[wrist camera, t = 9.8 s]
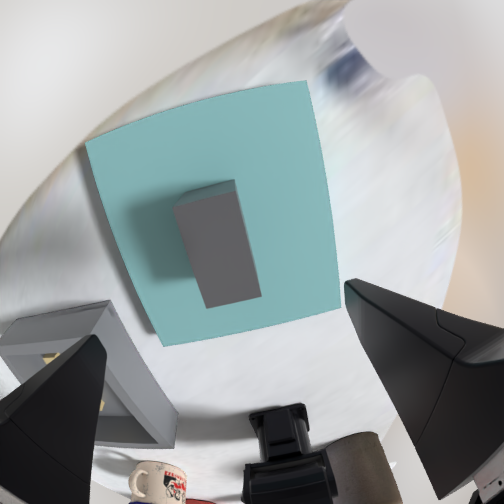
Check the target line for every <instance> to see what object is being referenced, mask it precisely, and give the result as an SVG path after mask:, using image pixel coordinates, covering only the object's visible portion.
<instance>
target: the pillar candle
mask: <svg viewBox="0 0 504 504" xmlns="http://www.w3.org/2000/svg"><path fill="white" fill-rule="evenodd" d="M325 449H326V452H327V455H328V458H329V461H330V464H331V467H332V470H333V473H334V477H335V481H336V485H337V489H338V497H337V498H333V499H332V500H333V504H403V502H402V498H401V496H400V492H399V490H398V487H397V484H396V481H395V479H394V476H393V473H392V471H391V468H390V466H389V463H388V461H387V459H386V456H385V453H384V450H383V447H382V446H381V443H380V441H379V438H378V435H377V434H376V433H374V432H362V433H358V434H354V435H350V436H347V437H345V438H342V439H340V440H337V441H336V442H334V443H332V444H331V445H329V446H328V447H326V448H325Z"/></svg>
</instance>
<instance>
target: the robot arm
mask: <svg viewBox="0 0 504 504" xmlns="http://www.w3.org/2000/svg"><path fill="white" fill-rule="evenodd" d="M344 293H345V305H346V308H347V311H348V313H349V316H350V318H351V320H352V323H353V325H354V328H355V330H356V333H357V335H358V338H359V340H360V342H361V345H362V346H363V348H364V350H365V352H366V354H367V356H368V358H369V359H370V361H371V363H372V365H373V367H374V368H375V370H376V372H377V374H378V376H379V378H380V380H381V382H382V383H383V385H384V387H385V389H386V391H387V393H388V395H389V397H390V399H391V401H392V402H393V404H394V406H395V408H396V410H397V412H398V414H399V416H400V418H401V420H402V422H403V424H404V426H405V428H406V430H407V432H408V434H409V436H410V438H411V440H412V443H413V445H414V446H415V449H416V451H417V453H418V455H419V458H420V460H421V462H422V464H423V466H424V468H425V470H426V473H427V475H428V477H429V480H430V482H431V484H432V486H433V489H434V491H435V493H436V496H437V498H438V500H441V499H443V498H445V497H447V496H448V495H449V494H452V493H453V492H455V491H457V490H458V489H460V488H461V487H463V486H465V485H466V484H468V483H469V482H471V481H472V480H474V482H475V484H476V486H477V488H478V489H477V490H476V491H474V492H473V494H472V497H471V499H470V502H469V504H504V329H503V328H499V327H496V326H492V325H489V324H485V323H481V322H478V321H474V320H471V319H467V318H464V317H461V316H458V315H455V314H452V313H449V312H446V311H444V310H441V309H438V308H437V309H436V308H435V307H433V306H430V305H428V304H425V303H422V302H419V301H417V300H414V299H411V298H409V297H406V296H403V295H401V294H398V293H395V292H392V291H390V290H387V289H384V288H382V287H379V286H376V285H373V284H371V283H368V282H365V281H362V280H360V279H357V278H354V279H351V280H347V281H345V283H344ZM106 363H107V351H106V349H105V348H104V346H103V344H102V343H101V341H100V339H99V338H98V336H97V335H95V334H89V335H85V336H84V337H83V338H81V339H80V340H79V341H77V342H76V343H75V344H73V345H72V346H71V347H69V348H68V349H67V350H65V351H64V352H63V353H61V354H60V355H59V356H58V357H56V358H55V359H54V360H52V361H51V362H50V363H48V364H47V365H46V366H45V367H43V368H42V369H41V370H39V371H38V372H37V373H36V374H34V375H33V376H32V377H30V378H29V379H28V380H27V381H26V382H24V383H23V384H22V385H20V386H19V387H18V388H16V389H15V390H14V391H13V392H11V393H10V394H9V395H7V396H6V397H5V398H3V399H2V400H0V504H89V499H90V481H91V470H92V460H93V451H94V443H95V436H96V429H97V423H98V417H99V411H100V405H101V400H102V395H103V389H104V380H105V371H106ZM249 420H250V422H251V425H252V427H253V429H254V431H255V433H256V435H257V437H258V440H259V449H260V458H261V463H254V464H251V463H249V464H245V470H244V482H243V491H242V495H241V501H242V502H243V503H244V504H333V500H332V499H333V498H337V497H338V489H337V485H336V481H335V477H334V473H333V470H332V467H331V464H330V461H329V458H328V455H327V452H326V449H325V448H324V449H320V450H319V451H316V452H312V448H311V444H310V440H309V436H308V432H309V431H310V429H309V423H308V417H307V411H306V406H305V404H299V405H294V406H290V407H286V408H281V409H276V410H271V411H266V412H261V413H256V414H251V415H249Z"/></svg>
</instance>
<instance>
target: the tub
mask: <svg viewBox="0 0 504 504" xmlns="http://www.w3.org/2000/svg"><path fill="white" fill-rule="evenodd" d="M89 334H95V335H97V336H98V338H99V339H100V341H101V343H102V344H103V346H104V348H105V349H106V351H107V363H106V371H105V380H104V389H103V395H102V400H101V405H100V411H99V417H98V423H97V429H96V436H95V443H94V445H97V446H106V447H119V448H137V449H174V445H175V437H176V428H177V420H178V412H177V411H176V409H175V408H174V407H173V405H172V404H171V402H170V401H169V399H168V398H167V397H166V395H165V394H164V392H163V391H162V389H161V388H160V386H159V385H158V383H157V382H156V380H155V378H154V377H153V375H152V374H151V372H150V371H149V369H148V367H147V366H146V364H145V362H144V361H143V359H142V357H141V356H140V354H139V352H138V351H137V349H136V347H135V345H134V344H133V342H132V340H131V338H130V337H129V335H128V333H127V331H126V329H125V327H124V326H123V324H122V322H121V320H120V318H119V316H118V314H117V312H116V310H115V308H114V306H113V304H112V302H111V300H109V301H105V302H100V303H95V304H90V305H86V306H81V307H76V308H71V309H66V310H61V311H56V312H51V313H46V314H41V315H36V316H31V317H26V318H20V319H16V320H15V322H14V323H13V324H12V325H11V326H10V327H9V329H8V330H7V331H6V332H5V333H4V335H3V336H2V337H1V338H0V356H1V358H2V359H3V360H4V362H5V363H6V365H7V366H8V367H9V369H10V370H11V372H12V373H13V374H14V376H15V377H16V378H17V379H18V381H19V382H20V383H21V385H22V384H23V383H24V382H26V381H27V380H28V379H29V378H30V377H32V376H33V375H34V374H36V373H37V372H38V371H39V370H41V369H42V368H43V367H45V366H46V365H47V364H48V363H50V362H51V361H52V360H54V359H55V358H56V357H58V356H59V355H60V354H61V353H63V352H64V351H65V350H67V349H68V348H69V347H71V346H72V345H73V344H75V343H76V342H77V341H79V340H80V339H81V338H83V337H84V336H85V335H89Z"/></svg>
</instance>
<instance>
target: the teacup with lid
mask: <svg viewBox="0 0 504 504" xmlns="http://www.w3.org/2000/svg"><path fill="white" fill-rule="evenodd" d="M186 479H187V475H186V473H185V472H184V471H183V470H181V469H179V468H177V467H175V466H172V465H169V464H165V463H160V462H153V461H145V462H140V463H138V464H137V466H136V470H134V471H133V472H132V473H131V474H130V477H129V487H130V490H131V491H132V495H131V502H130V503H129V504H185V498H186Z"/></svg>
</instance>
